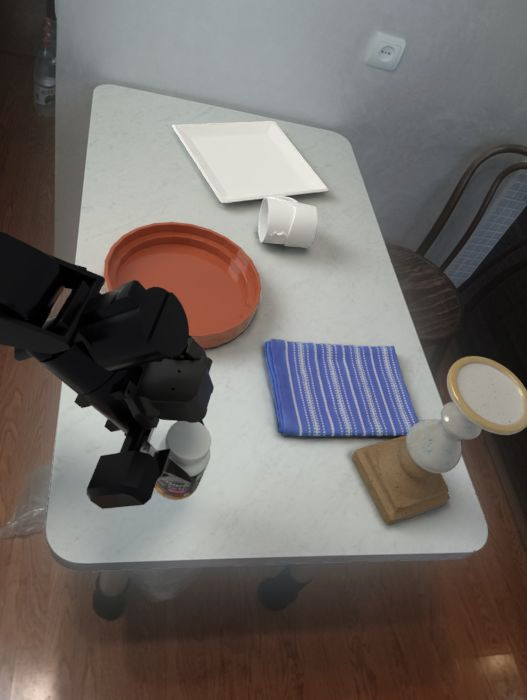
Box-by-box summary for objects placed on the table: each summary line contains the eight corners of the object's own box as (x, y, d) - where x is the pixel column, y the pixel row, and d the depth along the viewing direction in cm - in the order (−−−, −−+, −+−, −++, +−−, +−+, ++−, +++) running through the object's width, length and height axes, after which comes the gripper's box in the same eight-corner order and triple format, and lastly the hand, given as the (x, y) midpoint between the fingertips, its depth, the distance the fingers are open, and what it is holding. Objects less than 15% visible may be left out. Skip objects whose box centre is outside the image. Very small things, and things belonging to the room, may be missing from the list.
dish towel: (259, 344, 87) (263, 333, 85) (390, 350, 94) (397, 340, 92) (274, 439, 77) (280, 430, 75) (420, 439, 84) (428, 430, 82)
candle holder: (408, 438, 83) (498, 345, 65) (446, 503, 78) (555, 422, 60) (349, 455, 79) (428, 360, 61) (385, 526, 73) (484, 445, 55)
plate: (219, 210, 105) (221, 202, 104) (170, 132, 117) (171, 123, 116) (326, 197, 117) (330, 189, 116) (272, 127, 129) (274, 119, 128)
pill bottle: (142, 490, 61) (151, 451, 54) (162, 448, 65) (173, 406, 57) (188, 509, 61) (204, 472, 54) (206, 466, 65) (223, 426, 57)
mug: (307, 259, 103) (320, 227, 97) (259, 252, 101) (270, 219, 95) (300, 218, 110) (312, 186, 104) (255, 211, 108) (265, 178, 102)
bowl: (99, 347, 79) (100, 330, 76) (107, 232, 94) (107, 214, 91) (264, 355, 86) (270, 340, 83) (246, 246, 101) (251, 230, 98)
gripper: (130, 447, 39) (241, 537, 48) (195, 276, 51) (274, 375, 60) (30, 463, 44) (147, 542, 54) (110, 305, 56) (195, 392, 66)
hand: (196, 457), depth 58 cm, fingers closed on pill bottle, 6 cm apart
